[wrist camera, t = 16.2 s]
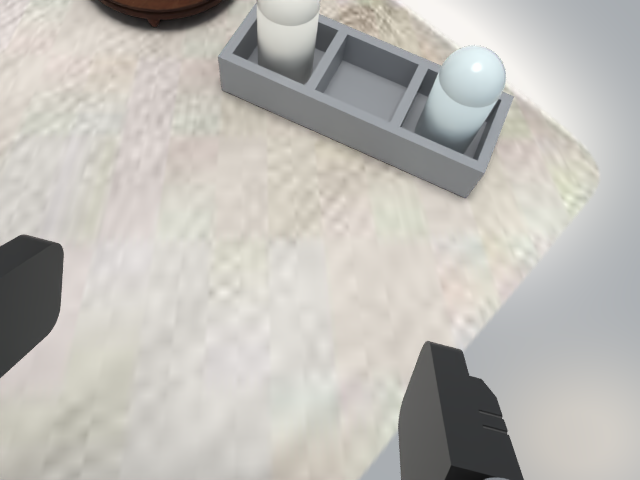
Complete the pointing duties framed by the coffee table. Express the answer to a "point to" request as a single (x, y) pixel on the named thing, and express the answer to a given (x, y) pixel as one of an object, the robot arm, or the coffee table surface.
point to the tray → (362, 101)
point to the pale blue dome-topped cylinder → (462, 97)
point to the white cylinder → (287, 36)
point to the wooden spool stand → (160, 8)
